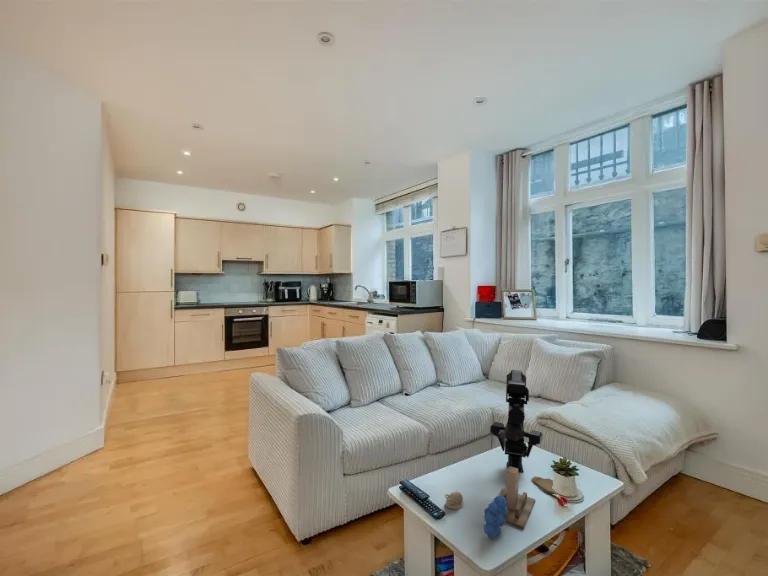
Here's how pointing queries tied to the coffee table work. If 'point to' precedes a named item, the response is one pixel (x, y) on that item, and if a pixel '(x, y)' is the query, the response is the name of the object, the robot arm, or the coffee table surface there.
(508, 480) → the brown rectangular box
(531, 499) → the walnut rack
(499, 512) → the grapes
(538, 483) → the pottery shard
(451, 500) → the decorative ornament
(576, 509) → the coffee table surface
